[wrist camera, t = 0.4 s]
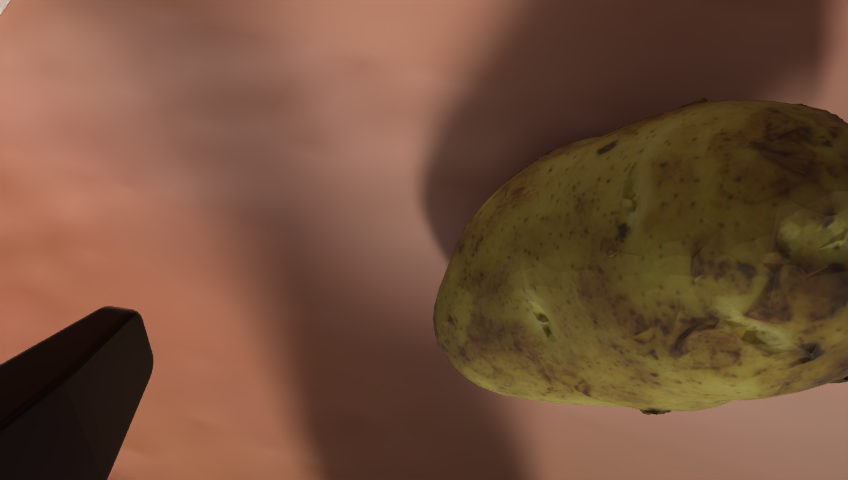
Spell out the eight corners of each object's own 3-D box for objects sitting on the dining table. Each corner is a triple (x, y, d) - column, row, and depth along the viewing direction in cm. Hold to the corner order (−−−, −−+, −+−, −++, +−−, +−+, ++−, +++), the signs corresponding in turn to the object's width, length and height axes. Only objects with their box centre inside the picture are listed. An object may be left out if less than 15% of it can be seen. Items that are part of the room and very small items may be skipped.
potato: (395, 128, 24) (304, 261, 17) (851, 14, 19) (969, 136, 13) (473, 336, 27) (423, 514, 21) (873, 281, 23) (975, 487, 16)
